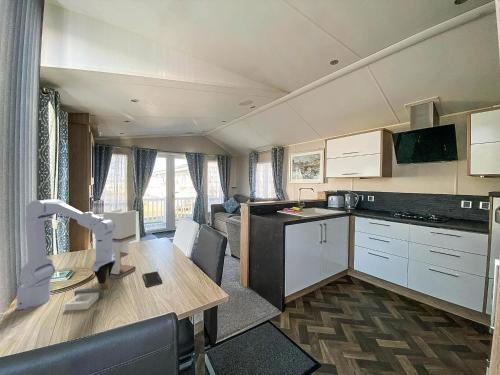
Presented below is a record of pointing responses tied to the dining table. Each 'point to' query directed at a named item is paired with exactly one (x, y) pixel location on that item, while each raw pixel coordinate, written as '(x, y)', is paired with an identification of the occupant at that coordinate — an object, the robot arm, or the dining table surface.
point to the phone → (152, 279)
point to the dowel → (105, 285)
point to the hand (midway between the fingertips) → (104, 281)
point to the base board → (90, 291)
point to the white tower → (122, 239)
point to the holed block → (81, 301)
